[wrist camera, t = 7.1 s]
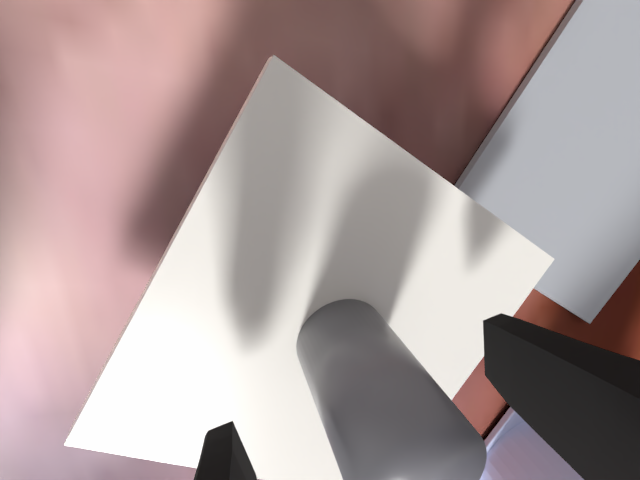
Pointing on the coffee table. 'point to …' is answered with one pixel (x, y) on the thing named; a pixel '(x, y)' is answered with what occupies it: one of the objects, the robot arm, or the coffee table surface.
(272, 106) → the lid
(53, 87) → the coffee table surface
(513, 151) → the mat
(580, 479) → the robot arm
